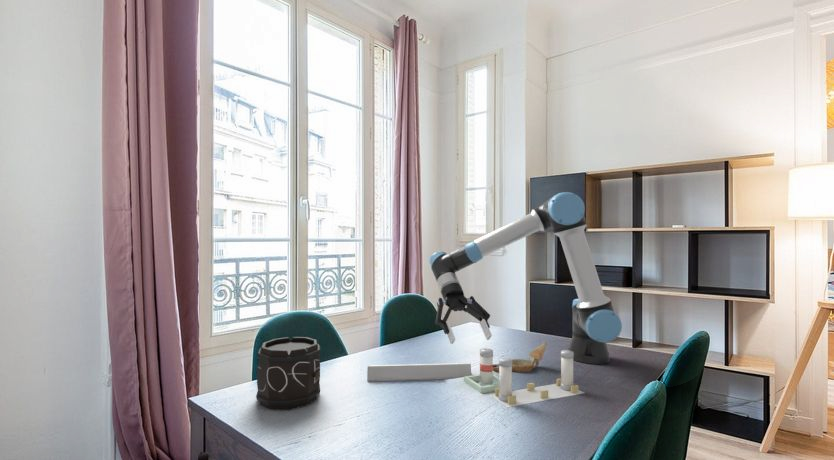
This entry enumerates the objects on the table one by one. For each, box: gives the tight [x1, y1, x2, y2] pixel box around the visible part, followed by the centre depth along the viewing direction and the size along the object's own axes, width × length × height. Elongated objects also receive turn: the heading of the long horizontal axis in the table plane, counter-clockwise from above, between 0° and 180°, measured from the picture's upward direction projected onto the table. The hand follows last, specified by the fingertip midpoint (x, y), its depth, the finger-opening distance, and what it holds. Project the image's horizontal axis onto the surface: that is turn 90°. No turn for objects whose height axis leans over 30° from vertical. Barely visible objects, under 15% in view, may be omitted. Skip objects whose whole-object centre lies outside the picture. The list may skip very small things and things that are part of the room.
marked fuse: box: [478, 347, 494, 386], centre depth 123 cm, size 4×4×11 cm
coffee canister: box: [255, 336, 322, 411], centre depth 115 cm, size 18×18×16 cm
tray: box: [463, 373, 499, 394], centre depth 123 cm, size 10×10×3 cm
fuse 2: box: [560, 349, 575, 391], centre depth 121 cm, size 4×4×11 cm
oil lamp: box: [493, 341, 547, 373], centre depth 139 cm, size 9×21×10 cm, turn 105°
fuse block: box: [489, 377, 585, 408], centre depth 116 cm, size 27×9×4 cm, turn 113°
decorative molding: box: [366, 362, 472, 382], centre depth 136 cm, size 34×5×10 cm
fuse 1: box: [498, 357, 513, 402], centre depth 112 cm, size 4×4×11 cm
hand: (471, 339), depth 131 cm, fingers open, 13 cm apart
